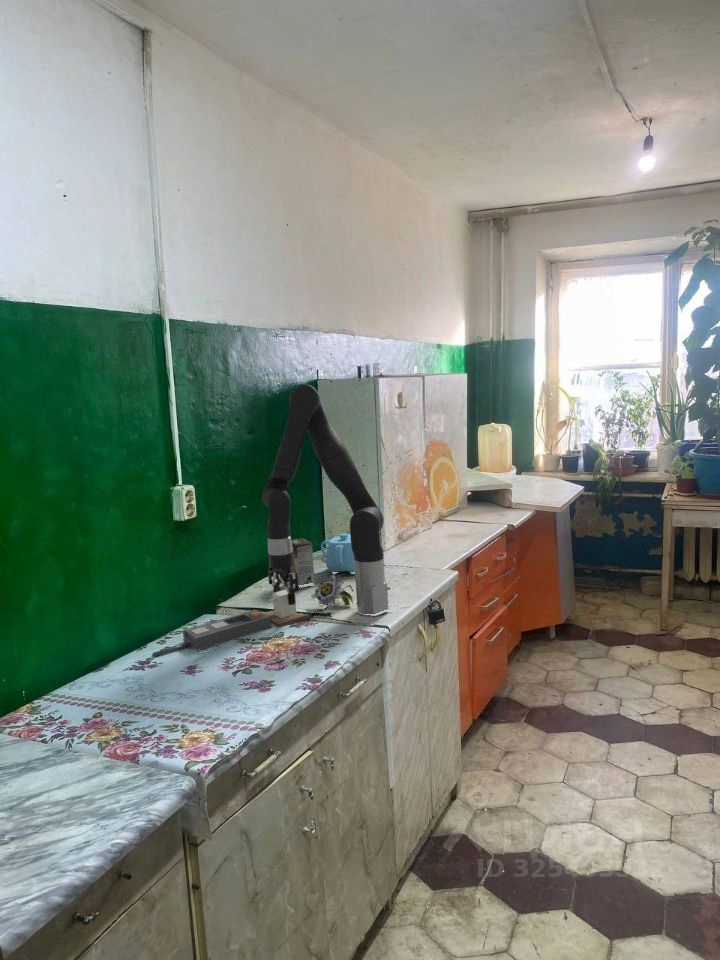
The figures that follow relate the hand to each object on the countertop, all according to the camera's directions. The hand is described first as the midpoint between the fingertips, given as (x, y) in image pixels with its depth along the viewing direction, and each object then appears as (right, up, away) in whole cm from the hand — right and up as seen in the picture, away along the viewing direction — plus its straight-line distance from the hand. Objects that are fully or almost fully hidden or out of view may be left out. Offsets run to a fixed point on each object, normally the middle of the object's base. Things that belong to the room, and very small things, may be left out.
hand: (284, 601), depth 214 cm
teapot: (+20, +3, +48) cm, 52 cm away
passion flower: (+15, -3, +9) cm, 18 cm away
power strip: (-20, -9, -14) cm, 26 cm away
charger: (-1, -4, 0) cm, 4 cm away
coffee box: (+3, 0, +34) cm, 34 cm away
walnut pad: (0, -5, +1) cm, 5 cm away
